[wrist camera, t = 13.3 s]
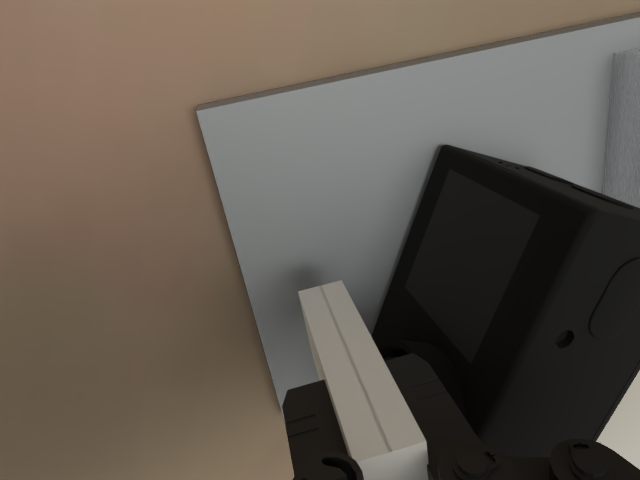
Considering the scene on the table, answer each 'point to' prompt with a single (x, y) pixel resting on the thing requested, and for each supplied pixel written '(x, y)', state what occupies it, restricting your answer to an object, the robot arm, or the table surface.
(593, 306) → the digital camera
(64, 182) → the table surface
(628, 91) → the rail
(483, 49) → the mounting plate
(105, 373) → the table surface
